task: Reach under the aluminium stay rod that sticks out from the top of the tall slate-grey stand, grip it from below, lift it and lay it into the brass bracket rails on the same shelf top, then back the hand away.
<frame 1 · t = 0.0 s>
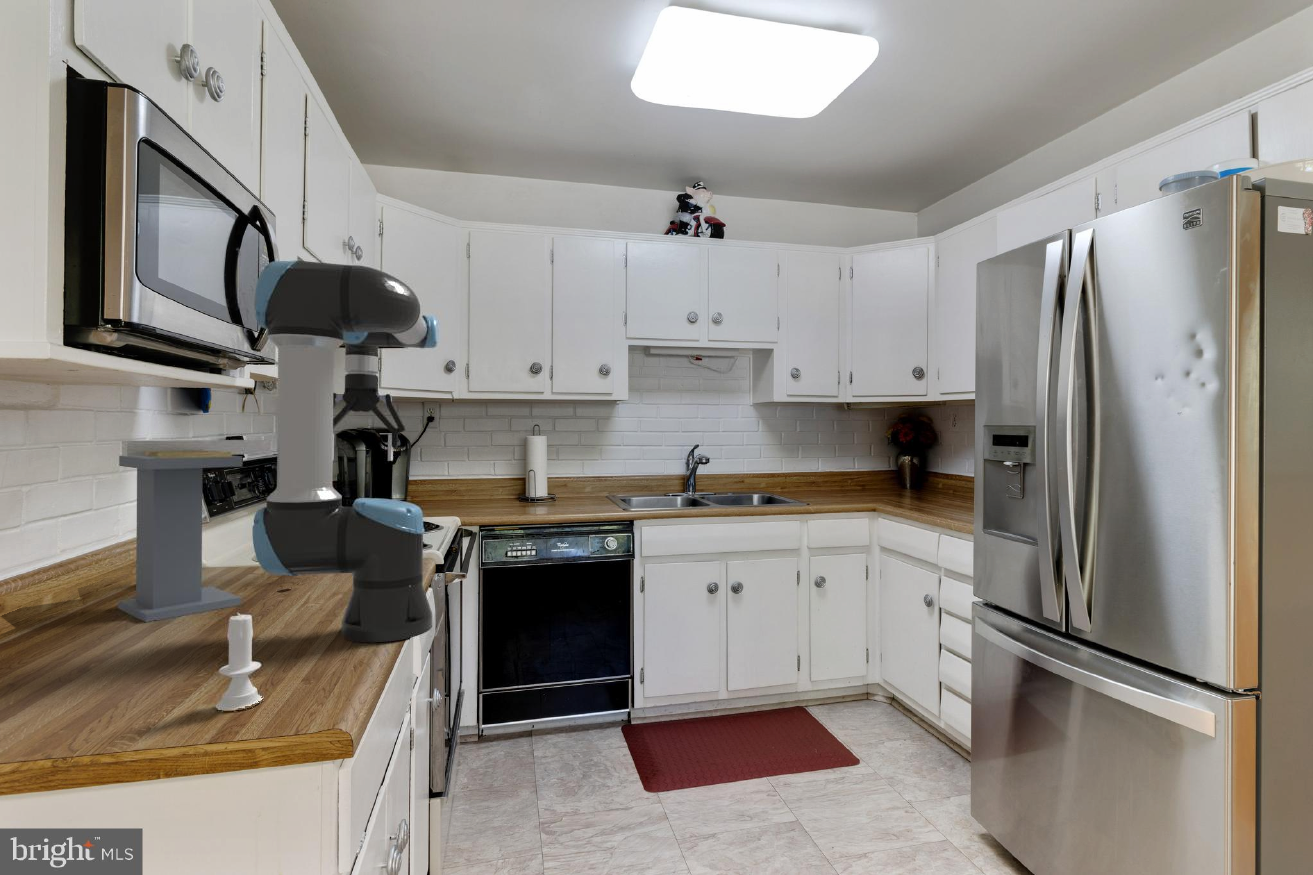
hand: (360, 460, 164), 28 cm above the counter, tool pointing down, fingers open, 13 cm apart
stand: (180, 606, 133), on the counter
stay rod: (201, 454, 139), point 30 cm above the counter, touching stand
candle: (240, 705, 87), on the counter
bracket: (189, 454, 130), on the stand, point 30 cm above the counter
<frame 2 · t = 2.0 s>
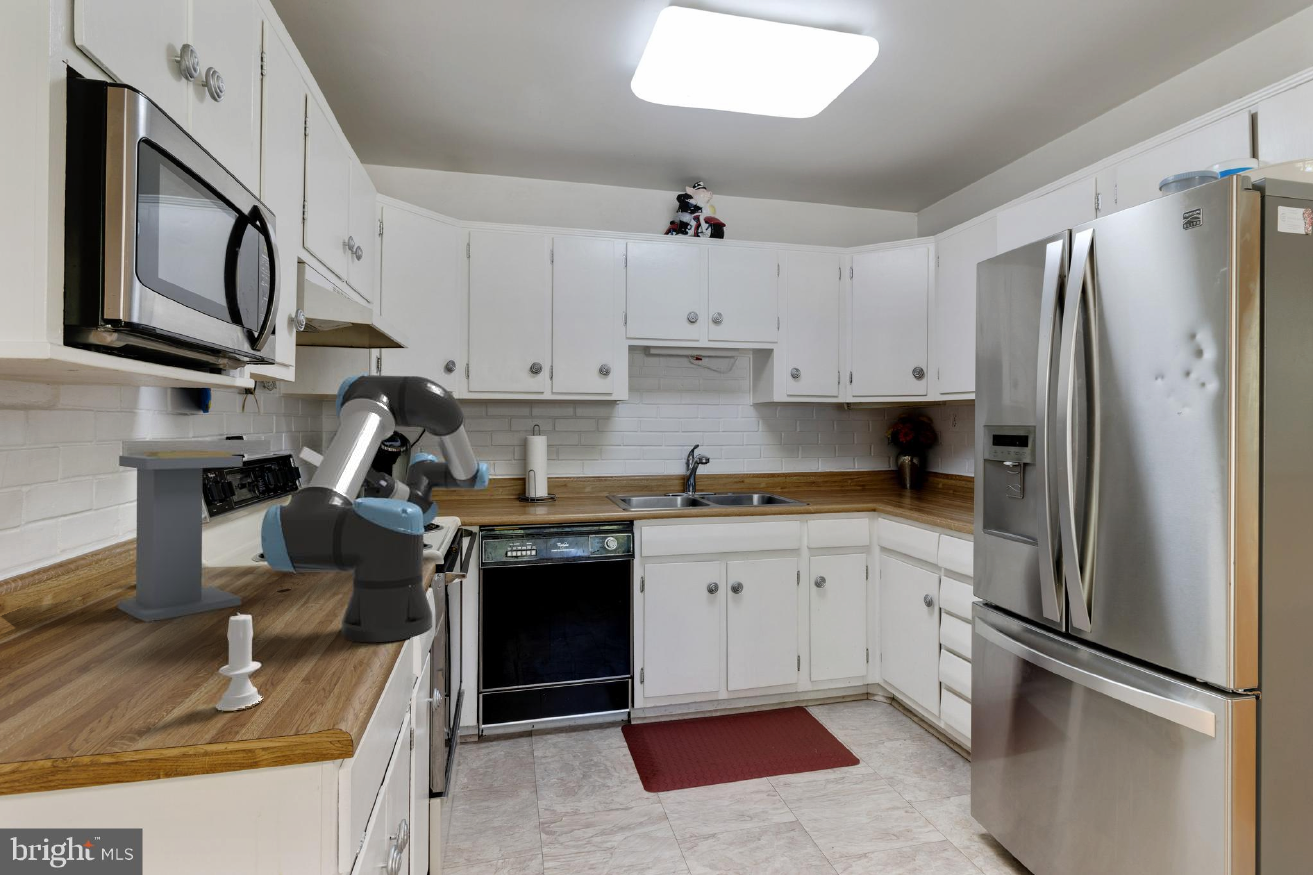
hand: (315, 452, 159), 30 cm above the counter, tool pointing upward, fingers open, 13 cm apart
nothing on the counter moved.
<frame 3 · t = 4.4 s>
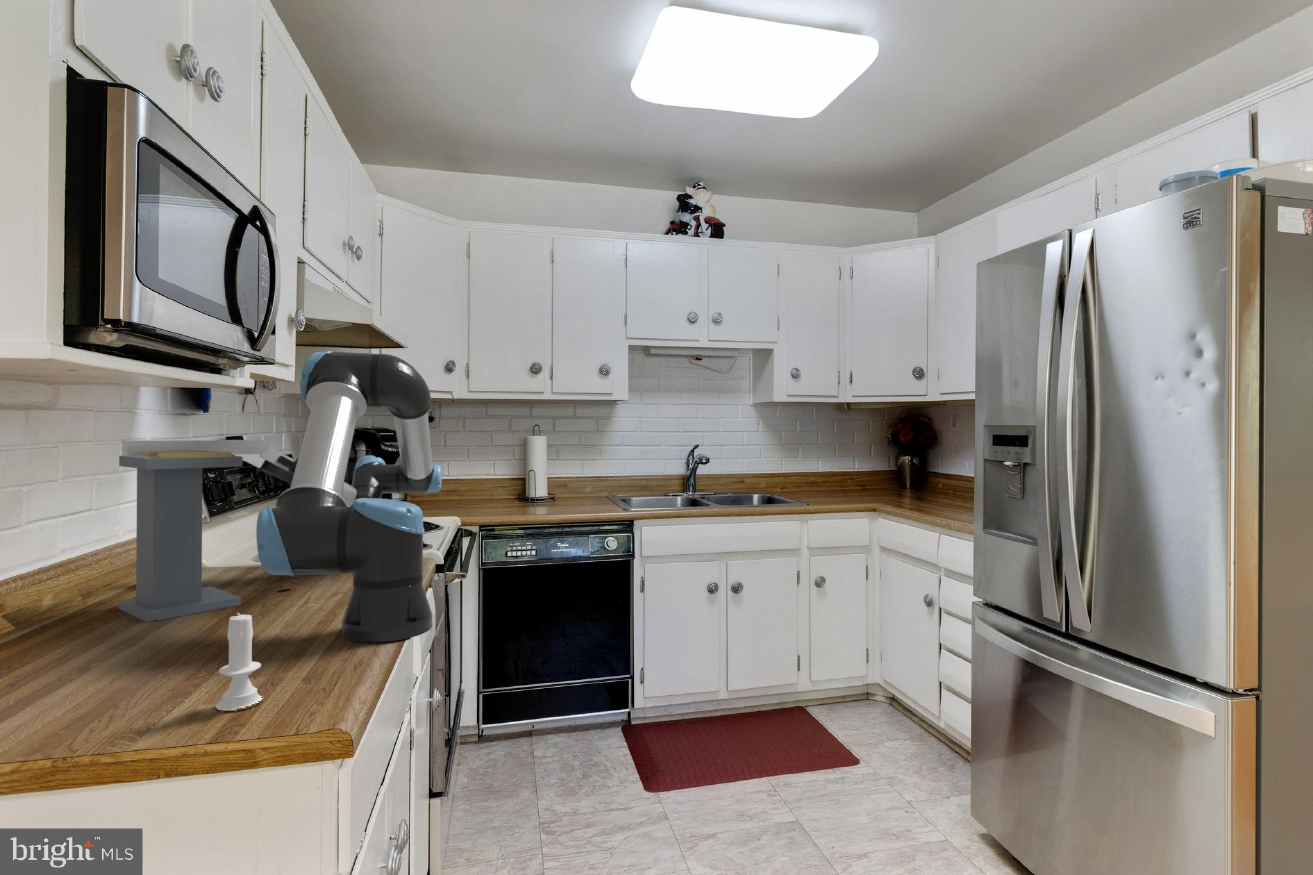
hand: (249, 449, 147), 31 cm above the counter, tool pointing upward, fingers open, 13 cm apart
nothing on the counter moved.
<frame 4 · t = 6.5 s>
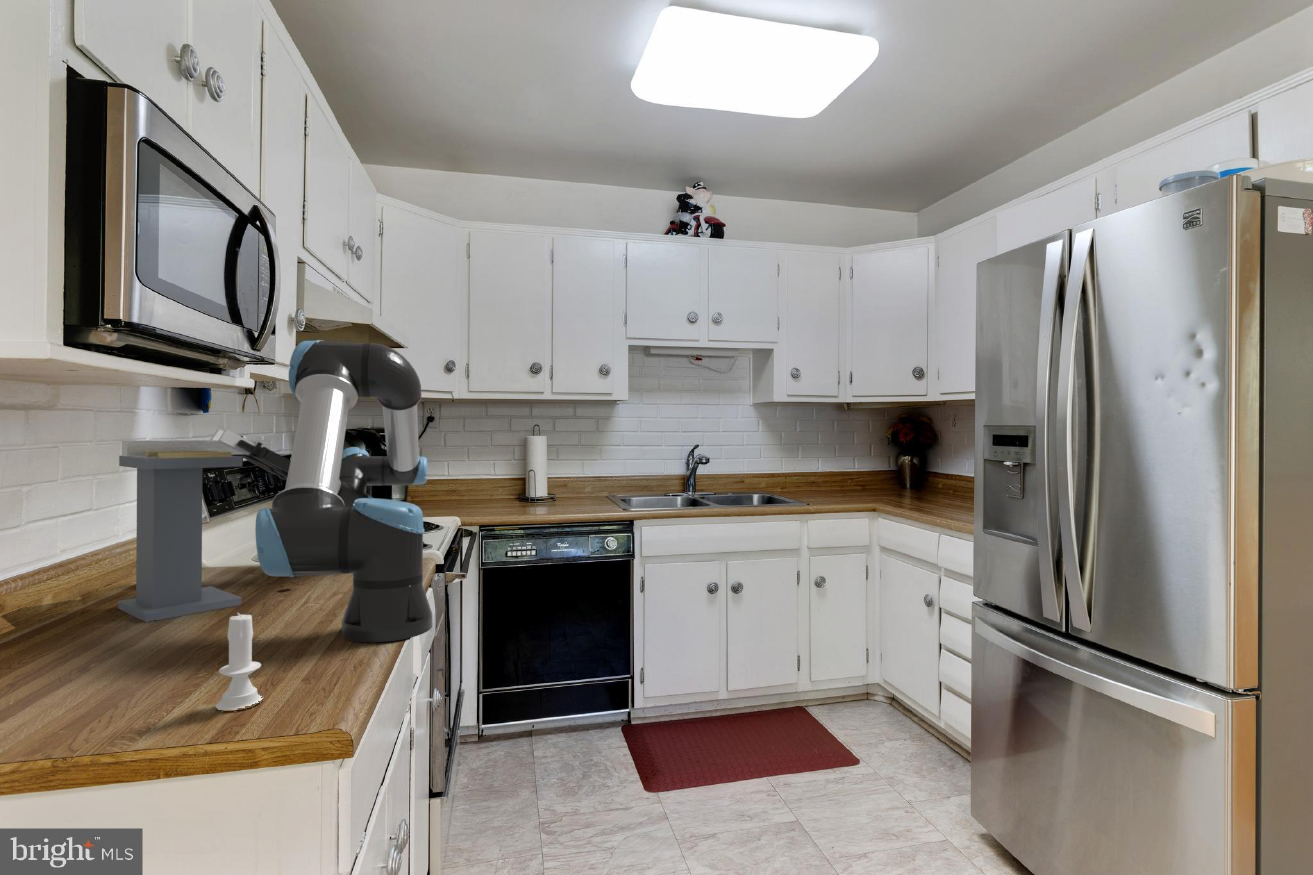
hand: (219, 434, 142), 34 cm above the counter, tool pointing upward, fingers closed on stay rod, 3 cm apart
stay rod: (201, 454, 139), point 30 cm above the counter, touching gripper
everything else where it was.
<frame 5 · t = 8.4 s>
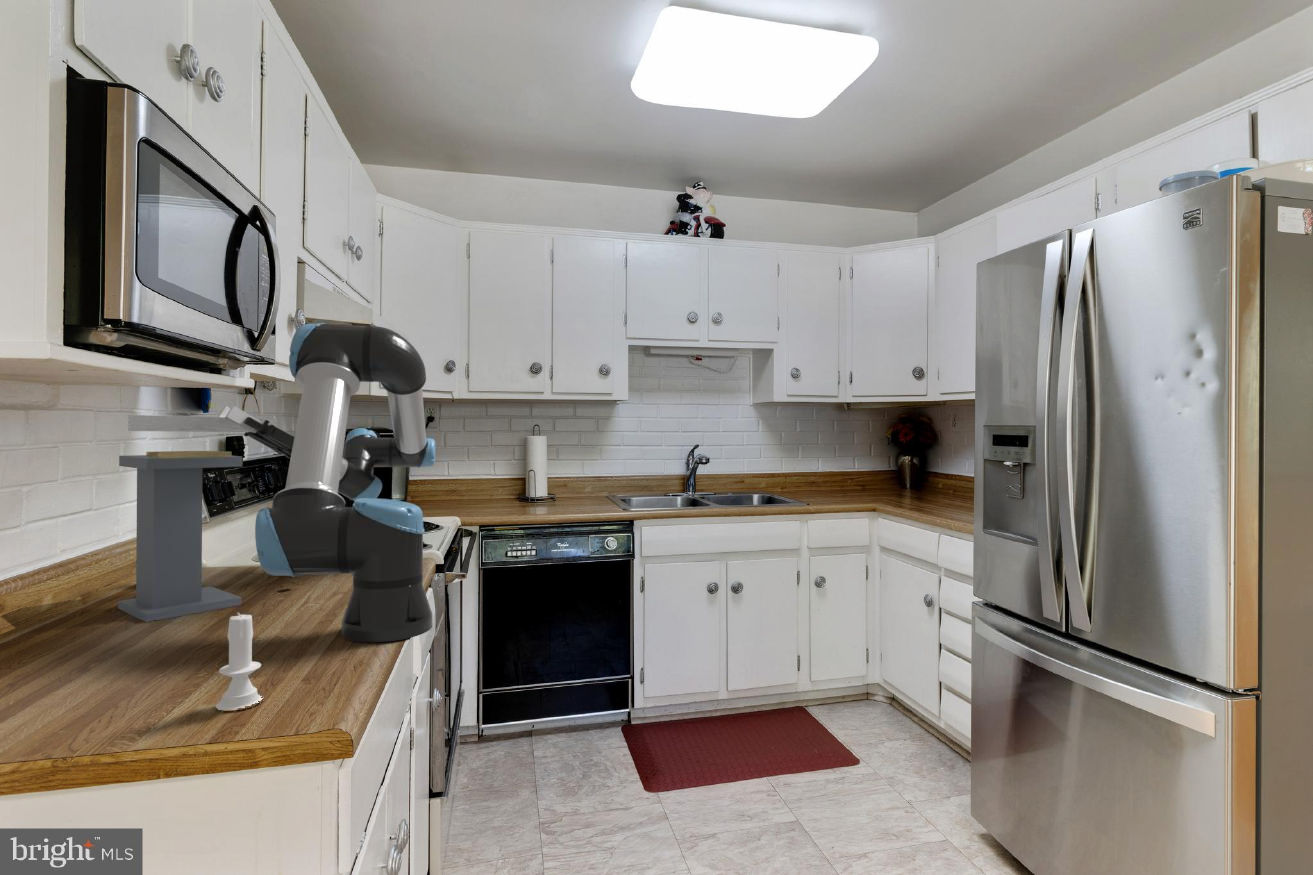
hand: (226, 411, 140), 39 cm above the counter, tool pointing upward, fingers closed on stay rod, 3 cm apart
stay rod: (208, 431, 138), point 35 cm above the counter, touching gripper
everything else where it was.
when the fingers open (36 cm above the counter, at t = 10.6 s): stay rod drops 1 cm, resting on stand.
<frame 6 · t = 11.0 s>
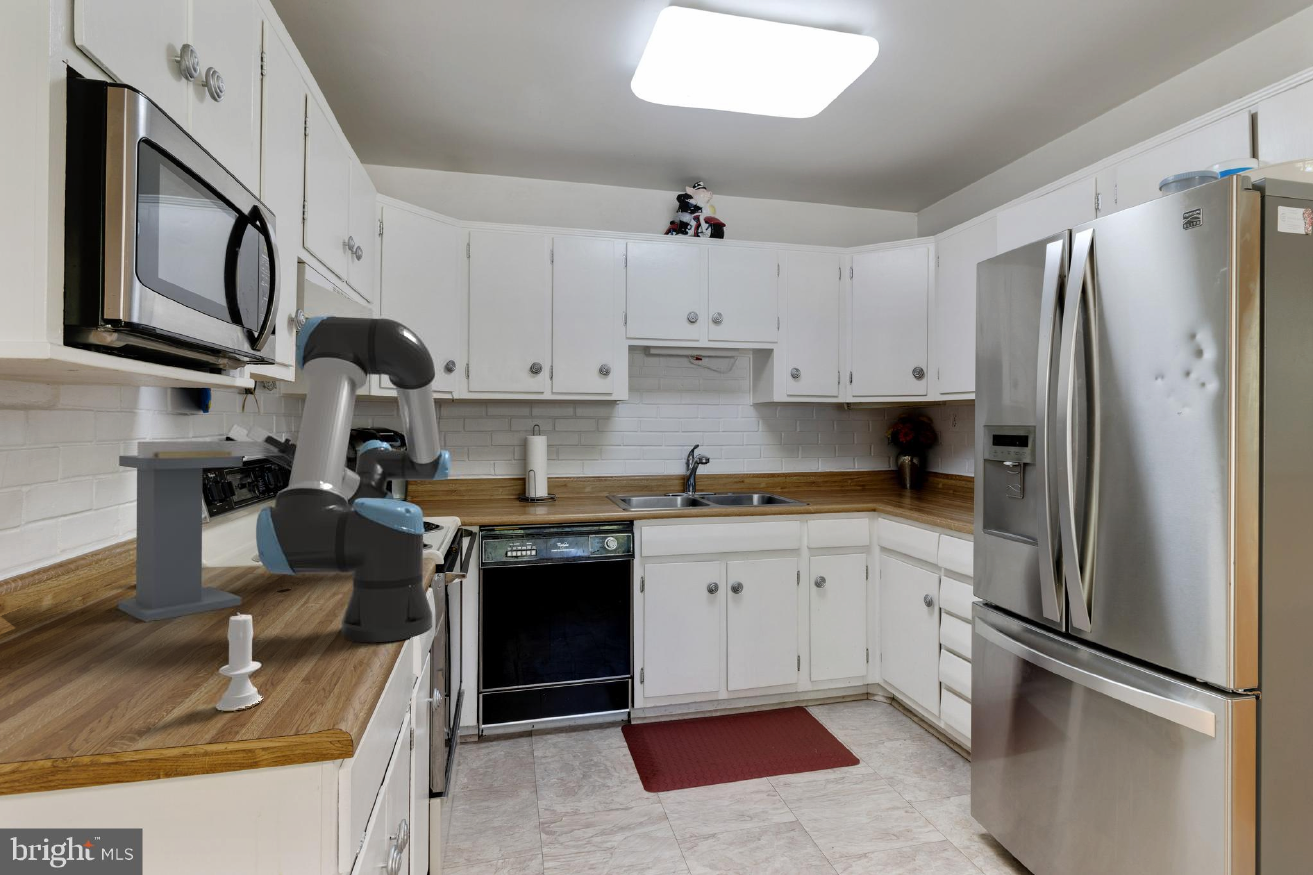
hand: (240, 429, 138), 35 cm above the counter, tool pointing upward, fingers open, 8 cm apart
stay rod: (218, 456, 134), point 30 cm above the counter, touching stand
everything else where it was.
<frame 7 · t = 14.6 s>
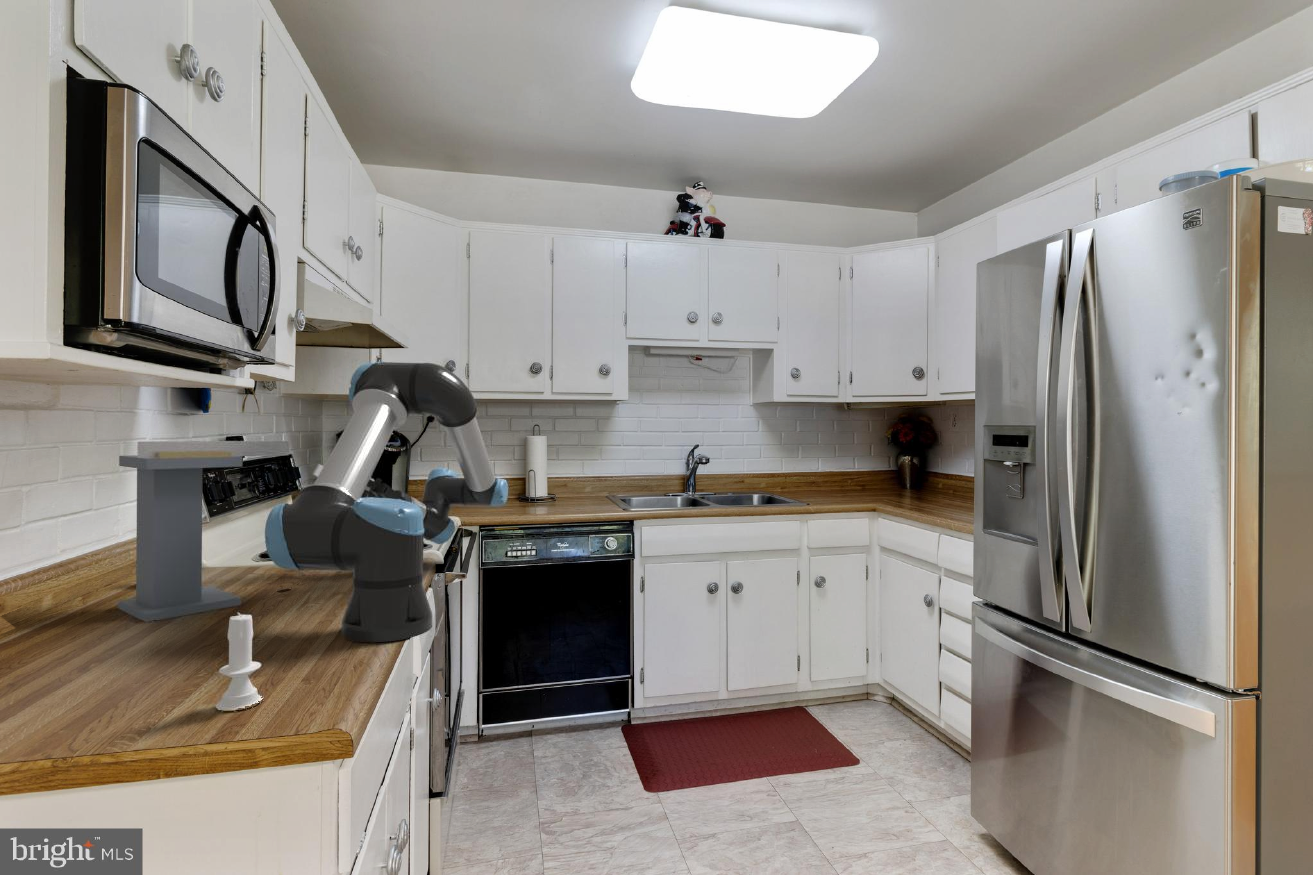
hand: (331, 470, 153), 26 cm above the counter, tool pointing upward, fingers open, 13 cm apart
nothing on the counter moved.
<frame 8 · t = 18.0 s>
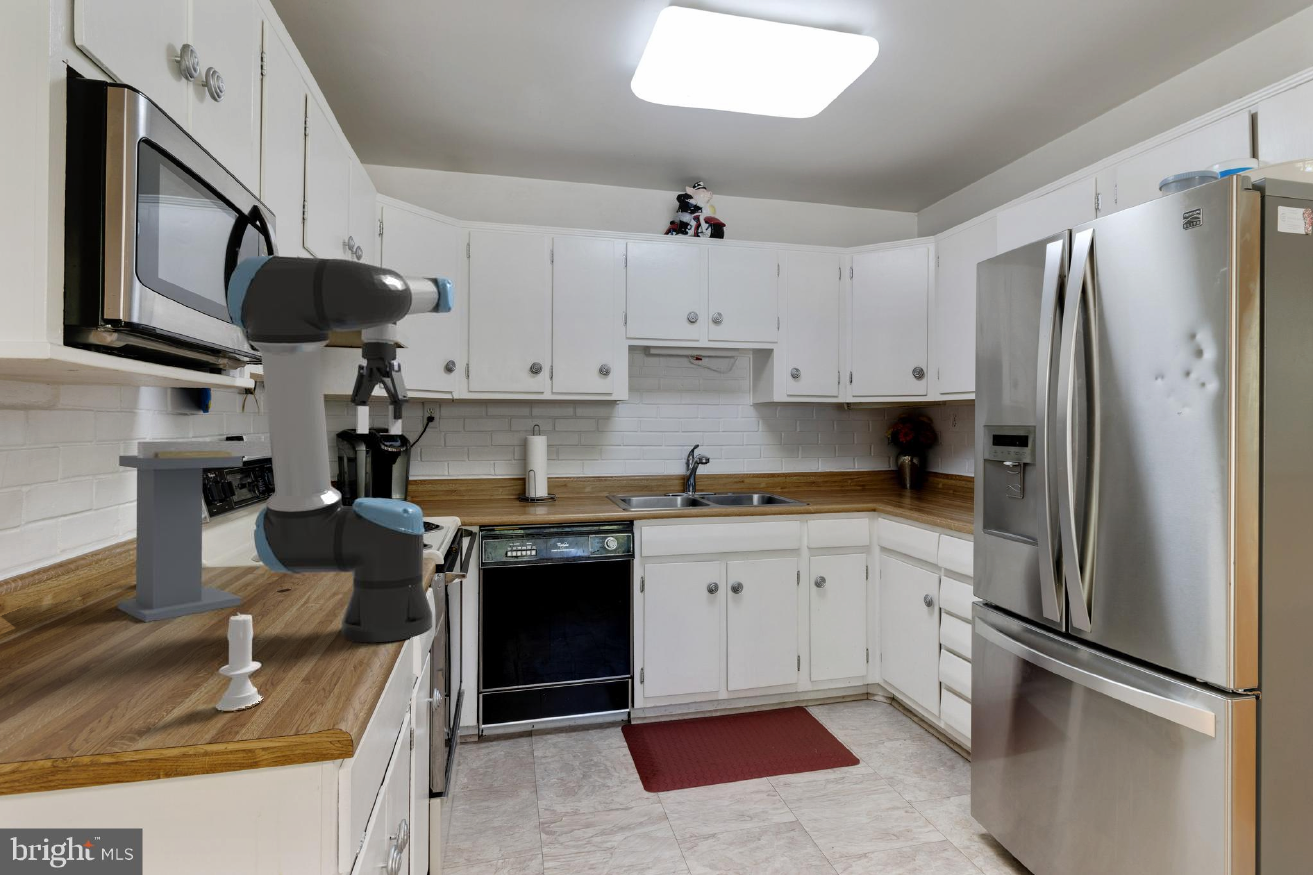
hand: (378, 433, 156), 35 cm above the counter, tool pointing down, fingers open, 13 cm apart
nothing on the counter moved.
at the end: stay rod 0.1 cm from the target spot on the bracket, point 30.0 cm above the bracket's base; stay rod tilted 0°; the gripper is holding nothing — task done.
